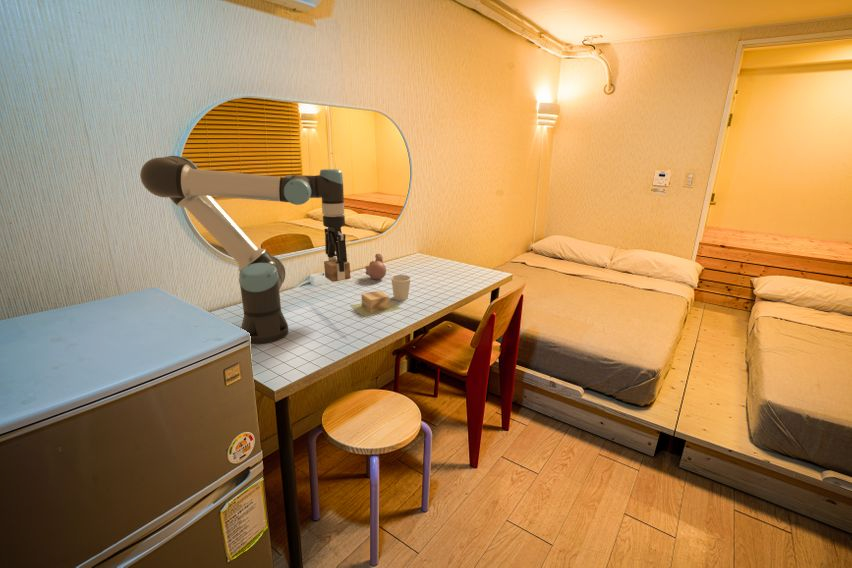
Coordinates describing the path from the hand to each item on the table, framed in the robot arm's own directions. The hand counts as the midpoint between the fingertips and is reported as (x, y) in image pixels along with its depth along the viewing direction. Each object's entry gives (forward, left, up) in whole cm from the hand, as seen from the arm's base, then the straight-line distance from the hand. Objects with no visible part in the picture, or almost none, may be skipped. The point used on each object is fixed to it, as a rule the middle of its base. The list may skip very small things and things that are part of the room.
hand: (337, 276), depth 152 cm
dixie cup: (+28, +1, -15) cm, 32 cm away
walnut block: (0, 0, 0) cm, 0 cm away
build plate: (+14, -3, -15) cm, 21 cm away
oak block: (+14, -3, -14) cm, 20 cm away
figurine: (+32, +32, -15) cm, 48 cm away
